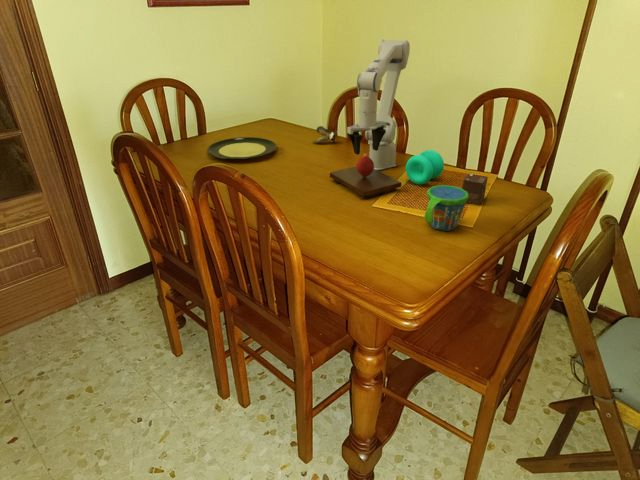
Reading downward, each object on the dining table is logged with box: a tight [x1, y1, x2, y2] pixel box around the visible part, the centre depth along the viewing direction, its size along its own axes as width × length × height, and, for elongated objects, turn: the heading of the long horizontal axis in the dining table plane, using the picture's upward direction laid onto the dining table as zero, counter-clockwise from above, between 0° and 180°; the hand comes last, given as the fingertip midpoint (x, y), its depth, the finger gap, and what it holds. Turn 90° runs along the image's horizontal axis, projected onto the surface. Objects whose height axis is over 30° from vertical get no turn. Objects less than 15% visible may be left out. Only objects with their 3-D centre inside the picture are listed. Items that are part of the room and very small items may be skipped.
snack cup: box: [423, 184, 469, 232], centre depth 123 cm, size 16×10×10 cm
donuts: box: [405, 149, 445, 185], centre depth 152 cm, size 10×10×10 cm
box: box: [461, 173, 489, 206], centre depth 138 cm, size 6×6×7 cm
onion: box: [355, 153, 374, 177], centre depth 148 cm, size 6×6×8 cm
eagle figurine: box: [313, 125, 338, 144], centre depth 192 cm, size 8×7×9 cm
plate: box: [206, 136, 278, 161], centre depth 182 cm, size 28×28×2 cm
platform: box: [329, 166, 402, 199], centre depth 151 cm, size 15×20×3 cm
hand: (366, 151), depth 151 cm, fingers open, 7 cm apart
